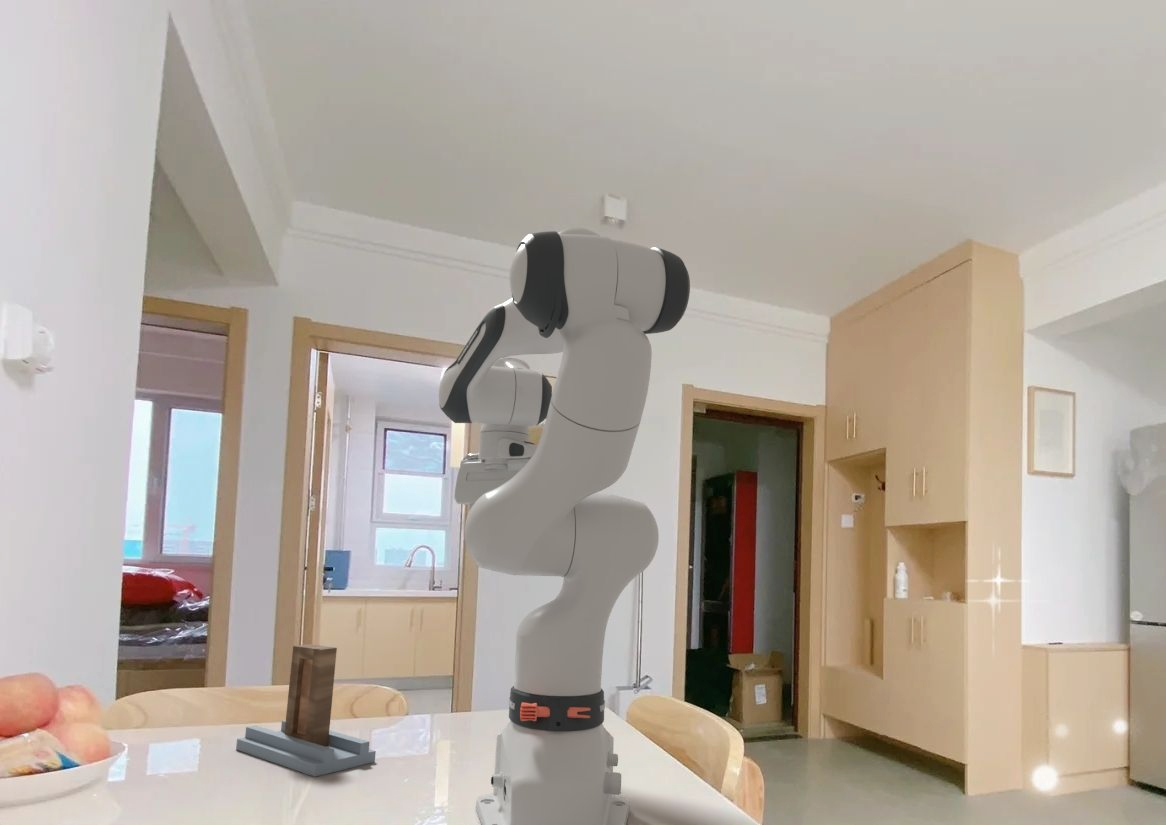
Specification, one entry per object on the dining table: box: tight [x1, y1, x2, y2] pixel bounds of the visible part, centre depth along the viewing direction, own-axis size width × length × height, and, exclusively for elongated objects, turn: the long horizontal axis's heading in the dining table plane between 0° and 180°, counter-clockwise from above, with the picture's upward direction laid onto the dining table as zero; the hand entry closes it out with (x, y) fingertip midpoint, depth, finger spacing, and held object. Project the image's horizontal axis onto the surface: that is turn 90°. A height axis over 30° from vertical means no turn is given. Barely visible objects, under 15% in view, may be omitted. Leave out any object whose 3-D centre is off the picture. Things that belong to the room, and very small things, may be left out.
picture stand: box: [235, 719, 376, 778], centre depth 111 cm, size 20×10×3 cm, turn 53°
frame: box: [284, 643, 338, 747], centre depth 113 cm, size 6×3×14 cm, turn 62°
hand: (499, 531), depth 129 cm, fingers open, 8 cm apart
